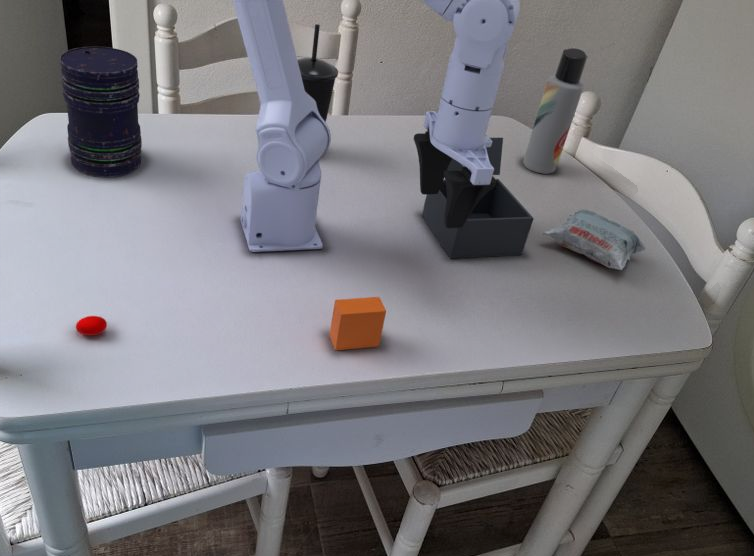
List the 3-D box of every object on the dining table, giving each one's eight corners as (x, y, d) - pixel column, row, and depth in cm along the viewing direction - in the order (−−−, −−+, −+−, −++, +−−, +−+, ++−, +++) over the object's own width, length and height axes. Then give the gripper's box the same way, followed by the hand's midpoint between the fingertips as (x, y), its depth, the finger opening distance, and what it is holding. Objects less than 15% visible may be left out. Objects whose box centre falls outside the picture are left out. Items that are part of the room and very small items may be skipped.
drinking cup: (326, 165, 111) (343, 36, 99) (278, 158, 110) (288, 29, 99) (328, 144, 117) (344, 21, 105) (282, 138, 116) (293, 13, 105)
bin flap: (431, 176, 98) (430, 175, 98) (499, 175, 101) (498, 174, 102) (433, 137, 96) (432, 137, 97) (503, 137, 100) (502, 137, 100)
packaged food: (616, 283, 94) (629, 253, 92) (538, 244, 100) (549, 214, 97) (640, 261, 100) (653, 232, 97) (565, 225, 106) (576, 196, 103)
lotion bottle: (559, 167, 122) (598, 52, 111) (548, 178, 118) (588, 60, 107) (529, 155, 124) (564, 42, 113) (517, 166, 120) (552, 49, 109)
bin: (421, 216, 102) (429, 179, 98) (488, 213, 105) (498, 178, 102) (450, 258, 94) (460, 220, 90) (521, 254, 97) (533, 218, 94)
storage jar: (156, 166, 103) (153, 65, 94) (95, 184, 96) (86, 78, 88) (116, 140, 108) (110, 42, 99) (56, 156, 101) (43, 52, 92)
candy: (107, 326, 74) (106, 312, 73) (107, 339, 72) (105, 324, 71) (77, 327, 73) (75, 313, 72) (75, 340, 72) (73, 326, 70)
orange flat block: (335, 350, 76) (341, 314, 73) (329, 335, 78) (334, 299, 75) (379, 346, 77) (386, 311, 74) (372, 331, 79) (379, 296, 76)
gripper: (531, 129, 72) (497, 240, 80) (472, 76, 83) (447, 178, 91) (469, 129, 70) (440, 243, 78) (417, 74, 81) (396, 179, 89)
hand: (440, 209), depth 84 cm, fingers open, 7 cm apart
